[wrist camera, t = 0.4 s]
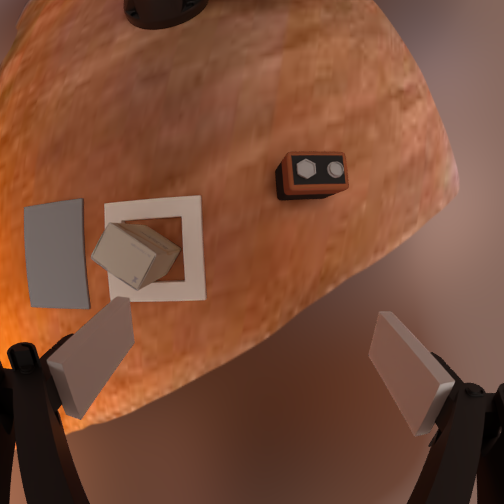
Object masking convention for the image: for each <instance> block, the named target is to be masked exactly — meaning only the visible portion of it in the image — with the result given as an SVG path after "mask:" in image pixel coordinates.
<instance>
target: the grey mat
mask: <svg viewBox="0 0 504 504" xmlns="http://www.w3.org/2000/svg"><path fill="white" fill-rule="evenodd" d="M24 238H25V256H26V269H27V279H28V287H29V295H30V302H31V307H42V308H68V309H90V308H91V307H90V299H89V291H88V282H87V272H86V260H85V244H84V215H83V198H80V199H73V200H66V201H60V202H53V203H47V204H41V205H35V206H29V207H24Z"/></svg>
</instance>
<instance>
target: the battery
mask: <svg viewBox="0 0 504 504" xmlns="http://www.w3.org/2000/svg"><path fill="white" fill-rule="evenodd" d="M275 174H276V186H277V197H278V199H279V200H298V199H322V198H326V197H328V196H331V195H334V194H336V193H339V192H341V191H344V190H346V189H348V187H349V183H348V173H347V165H346V157H345V154H344V153H342V152H288V153H287V154H286V156H285V157H284V159H283V160H282V162H281V163H280V165H279V166H278V168H277V169H276V171H275Z"/></svg>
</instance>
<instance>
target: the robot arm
mask: <svg viewBox="0 0 504 504" xmlns="http://www.w3.org/2000/svg"><path fill="white" fill-rule="evenodd" d="M208 1H209V0H124V12H125V14H126V16H127V18H128V20H129V21H130V23H132V24H133V25H135V26H137V27H140V28H144V29H161V28H167V27H171V26H175V25H178V24H181V23H183V22H185V21H187V20H189V19H191V18H193V17H194V16H196V15H197V14H198V13H200V12H201V11H202V10H203V9H204V8H205V6H206V5H207V3H208ZM134 343H135V342H134V334H133V326H132V317H131V307H130V298H128V297H120V296H117V297H116V298H114V299H113V300H112V301H111V302H110V303H109V304H107V305H106V306H105V307H104V308H103V309H102V310H101V311H99V312H98V313H97V314H96V315H95V316H94V317H93V318H91V319H90V320H89V321H88V322H87V323H86V324H85V325H84V326H83V327H81V328H80V329H79V330H78V331H77V332H76V333H75V334H69V335H67V336H65V337H63V338H62V339H61V340H60V341H58V342H57V344H55V345H54V346H53V347H52V349H49V350H48V351H47V352H46V353H45V354H44V355H43V356H42V357H41V358H40V359H39V357H38V353H37V350H36V347H35V345H33V344H32V343H28V342H21V343H17V344H15V345H13V346H11V347H10V348H9V349H8V351H7V355H8V358H9V361H10V364H11V367H12V369H6V368H3V366H2V364H1V361H0V504H9V500H10V483H11V472H12V464H13V456H14V449H15V443H16V446H17V454H18V460H19V467H20V472H21V478H22V483H23V488H24V492H25V497H26V501H27V504H90V503H89V501H88V499H87V496H86V494H85V491H84V489H83V486H82V484H81V481H80V479H79V476H78V473H77V471H76V468H75V465H74V462H73V459H72V456H71V453H70V450H69V447H68V443H67V440H66V436H65V433H64V429H63V425H62V421H61V417H60V414H59V412H58V409H59V407H60V406H61V405H62V406H63V408H64V411H65V413H66V415H69V416H72V417H74V418H77V419H80V420H81V419H82V418H83V416H84V415H85V413H86V412H87V410H88V409H89V407H90V406H91V404H92V403H93V401H94V400H95V398H96V397H97V395H98V394H99V393H100V391H101V390H102V388H103V387H104V385H105V384H106V382H107V381H108V380H109V378H110V377H111V375H112V374H113V372H114V371H115V370H116V368H117V367H118V365H119V364H120V363H121V361H122V360H123V358H124V357H125V356H126V354H127V353H128V351H129V350H130V349H131V347H132V346H133V344H134ZM368 356H369V358H370V359H371V361H372V362H373V364H374V366H375V368H376V369H377V371H378V373H379V374H380V376H381V378H382V380H383V381H384V383H385V385H386V387H387V388H388V390H389V392H390V393H391V395H392V397H393V399H394V401H395V402H396V404H397V405H398V407H399V409H400V411H401V413H402V415H403V417H404V418H405V420H406V422H407V424H408V426H409V427H410V429H411V431H412V433H413V435H414V436H418V435H423V434H427V433H429V432H430V430H431V429H432V427H433V425H434V423H436V425H437V426H438V428H439V429H438V431H437V432H436V434H435V436H434V437H433V439H432V441H431V442H430V444H429V447H430V446H431V448H430V451H429V454H428V456H427V459H426V461H425V464H424V466H423V469H422V471H421V474H420V476H419V479H418V481H417V483H416V485H415V487H414V490H413V492H412V494H411V496H410V498H409V500H408V502H407V504H469V502H470V498H471V494H472V491H473V486H474V482H475V478H476V474H477V504H504V383H503V384H501V385H500V386H499V388H498V390H497V392H496V393H485V391H484V389H483V388H482V387H480V386H479V385H476V384H474V383H463V381H462V380H461V379H460V378H459V377H458V376H457V375H456V373H455V372H454V371H453V370H452V369H450V367H449V366H448V365H447V364H446V363H445V362H444V360H443V359H442V358H441V357H439V356H438V355H436V354H434V353H433V352H431V353H430V352H429V351H428V350H427V349H426V348H425V347H424V346H423V345H422V344H421V342H420V341H419V340H418V339H417V338H416V337H415V336H414V335H413V334H412V333H411V332H410V331H409V330H408V329H407V328H406V327H405V326H404V324H403V323H402V322H401V321H400V320H399V319H398V318H397V317H396V316H395V315H394V314H393V313H392V312H391V311H390V312H379V313H378V318H377V322H376V327H375V331H374V335H373V339H372V344H371V347H370V351H369V355H368ZM500 432H501V433H500Z"/></svg>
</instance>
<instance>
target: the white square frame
mask: <svg viewBox="0 0 504 504" xmlns="http://www.w3.org/2000/svg"><path fill="white" fill-rule="evenodd" d="M104 206H105V228H106V227H107V225H108V223H109V222H111V223H124V224H125V221H131V220H144V219H157V218H172V217H182V236H183V255H184V271H185V280H174V281H154V282H152V283H151V284H149V285H147V286H145V287H144V288H142V289H140V290H138V291H136V290H134V289H133V288H131V287H130V286H128V285H127V284H125V283H124V282H122V281H121V280H119V279H118V278H116V277H115V276H113V275H112V274H111V273H109V272H108V281H109V291H110V299H111V301H112V300H113V299H114V298H116V297H117V296H120V297H128V298H130V302H156V301H194V300H206V298H207V294H206V280H205V263H204V245H203V223H202V197H201V196H200V195H198V196H183V197H169V198H157V199H145V200H134V201H124V202H115V203H105V204H104Z"/></svg>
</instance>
